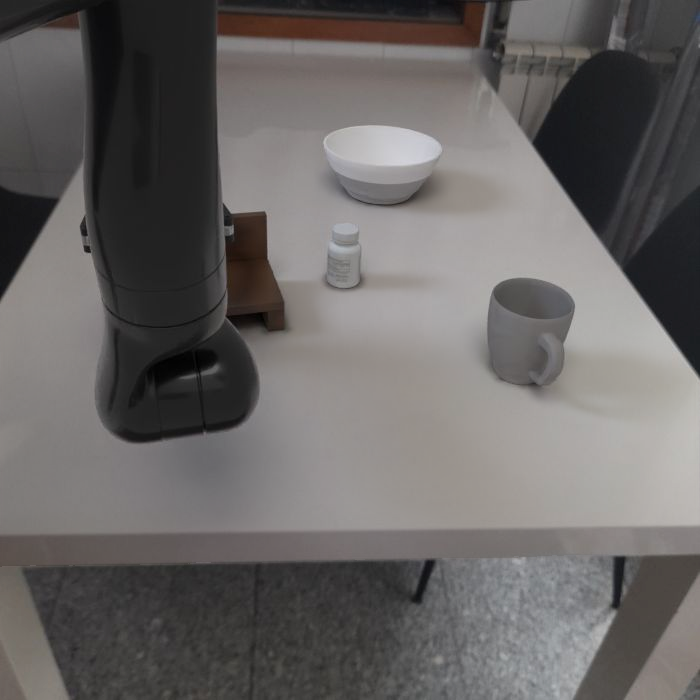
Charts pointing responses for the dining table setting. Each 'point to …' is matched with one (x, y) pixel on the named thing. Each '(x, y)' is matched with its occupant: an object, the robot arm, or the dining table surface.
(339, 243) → the pill bottle
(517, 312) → the mug
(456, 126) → the dining table surface
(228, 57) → the dining table surface
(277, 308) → the wooden stand
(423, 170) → the bowl
